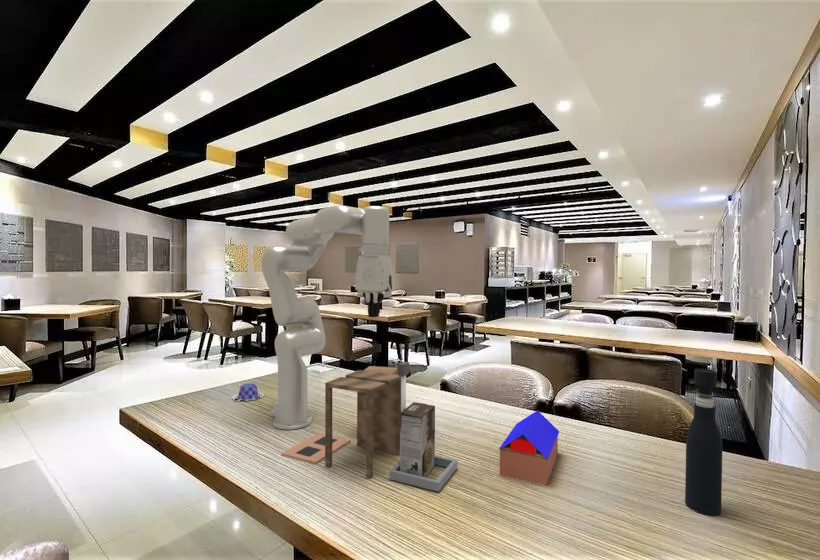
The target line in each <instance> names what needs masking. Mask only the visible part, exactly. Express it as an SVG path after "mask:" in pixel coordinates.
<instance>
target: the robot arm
mask: <svg viewBox="0 0 820 560" xmlns="http://www.w3.org/2000/svg"><path fill="white" fill-rule="evenodd" d="M335 233H340V234H341V233H343V234H353V235H360V236H361V246H360V247H358V252H359V253H361V255H359V256H358V259H357V262H356V269H355V280H354V288H355V289H354V290H356V291H357V292H356V293H357V295H358V296H361V297H363V298H364V300H365V302H366V303H367V315H368V318H379V317H380V313H381V312H380V311H381V303H382V302H383V300H384V299H385V298H388V297H392V295H393V293H392V291H393V287H394V286H393V285H394V283H393V282H394V280H393V279H394V277H393V275H394V274H393V264H392V260H391V259H392V258H391V256H389V254H390V253H389V250H390V249H389V246H390V245H389V243H390V210H389V209H388V208H387V207H384V206H381V205H380V206H379V205H369V206H366V207H364V208H359V207H353V206H348V205H342V204H341V205H332V206H328V207H324V208H322V209H319V210H318V211H317V212H316V213H315V214H314V215H312V216H307V217H302V218H300V219H295V220H293V221H292V222H290V223H289V224H288V225H287V226H286V229H285V236H286V238H287V240H288V241H289V242H291V243H292V244H294V245H296V246H293V245H274V246H273V245H272V246H270V247H268V248H266V249H265V250H264V252H263V254H262V257H261V261H260V262H261V263H260V265H261V266H260V268H261V271H262V272H261V273H262V275H263V278H264V280H265V282H266V285H267V288H268V292H269V297H270V298H269V299H270V302H271V307H272V309H271V310H272V314H273V317H274V321H275V323H276V324H277V325H278V326H281V327H289V326H290V327H291V326H299V325H301V327H300V328H299V327H297V328H290V329H286V330H283V331H281V332H279V333H278V334H277V335H276V337H275V339H274V350H275V354H276V360H277V406H273V408H272V410H271V411H270V415H275V418H274V419H273V421H272V426H273V427H275V429H279V430H286V431H287V430H297V429H299V430H300V429H301V428H305V427H307V426H309V425H310V424H312V422H313V417H312V416H311V415H310V414H308V369H307V365H306V363H305V362H304V360H303V358H302V357H305V356H310V355H314V354H319V353H320V352H322V351H323V350H324V349H325V346H326V333H325V329H324V324H323V319H322V314H321V309H320V307H319V304H318V303H317V302H316V300H314V299H313V298H311V297H306V296H305V297H304V296H303V297H298V295H297V292H296V287H295V284H294V282H293V280H292V279H291V277H290V276H289V275H287V273H286V272H285V271H289V272H291V271H292V272H295V271H297V272H298V271H299V272H304V271H309V270H311V269H312V268H313V267H314V266H315V264H316V263H317V261H318V260H319V258H320V256H321V255H322V253H323V251H324V250H325V248H326V246H327V244H328V242H329V240H331V239H332V238H333V236H334V234H335Z"/></svg>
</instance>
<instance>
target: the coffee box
mask: <svg viewBox="0 0 820 560" xmlns="http://www.w3.org/2000/svg"><path fill="white" fill-rule="evenodd" d="M400 414H401V417H400V455H399V462H400V471H401V472H405V473H409V474H413V475H417V476H421V477H425V478H427V476H428V475H429V473H430V472H431V470H432V469H433V467H434V466H436V465H435V455H436V454H435V451H436V449H435V448H436V445H435V443H436V437H435V436H436V406H435V405H432V404H427V403H422V402H417V401H416V402H412V403H411V404H410V405H409V406H406V409H405V410H403V411H402V412H401V413H400Z"/></svg>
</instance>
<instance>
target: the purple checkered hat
mask: <svg viewBox="0 0 820 560" xmlns="http://www.w3.org/2000/svg"><path fill="white" fill-rule="evenodd" d="M258 393H260V394H262V396H261V397H260V398H259V399H261V398H262V397H264V395H265V394H264V393H263V392H259V391H258V387H257V385H256V383H245V384H242V385H240V387H239V391H238V393H237V394H234V395H233V396H232V397H231V398H232V400H234V401H236V400H235V399H234V397H235V396H237V395H238V398H237V399H238V400H237V401H239V402H240V400H239V399H242V400H245V401H244V402H246V401H250V400H246V399H252V401H254V400H256V399H253V398H257V396H259V394H258Z"/></svg>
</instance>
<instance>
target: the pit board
mask: <svg viewBox="0 0 820 560" xmlns="http://www.w3.org/2000/svg"><path fill="white" fill-rule="evenodd" d="M350 443H351V439H348V438H343V437H339V436H334V435H332V455H333V454H334V453H336V452H337V451H338V450H341V449H342V448H344V447H345V446H346V445H349V444H350ZM280 453H281V456H284V457H286V456H287V458H290V457H291V458H290V459H295V460H298V461H302V462H305V463H309V464H313V465H317V464H319V463H321V462H322V461H323V460H325V433H320V432H317V433H315V434H313V435H312V436H310V437H308V438H306V439H304V440H303V441H301V442H299V443H298V444H296V445H294V446H292V447H289V448H288V449H286V450H285V451H283V452H280Z"/></svg>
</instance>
